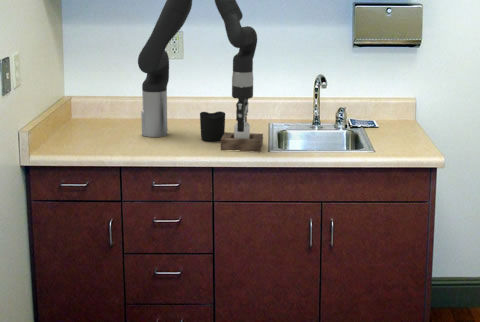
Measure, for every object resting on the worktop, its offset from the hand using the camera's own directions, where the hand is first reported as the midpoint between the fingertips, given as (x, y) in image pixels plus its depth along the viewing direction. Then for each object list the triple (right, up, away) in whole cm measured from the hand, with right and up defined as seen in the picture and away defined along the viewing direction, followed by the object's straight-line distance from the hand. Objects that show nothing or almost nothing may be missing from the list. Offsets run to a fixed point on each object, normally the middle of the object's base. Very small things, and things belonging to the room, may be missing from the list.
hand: (242, 128), depth 277 cm
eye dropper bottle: (0, -6, +2) cm, 6 cm away
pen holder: (-11, -4, +13) cm, 17 cm away
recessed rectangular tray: (0, -7, +2) cm, 7 cm away
